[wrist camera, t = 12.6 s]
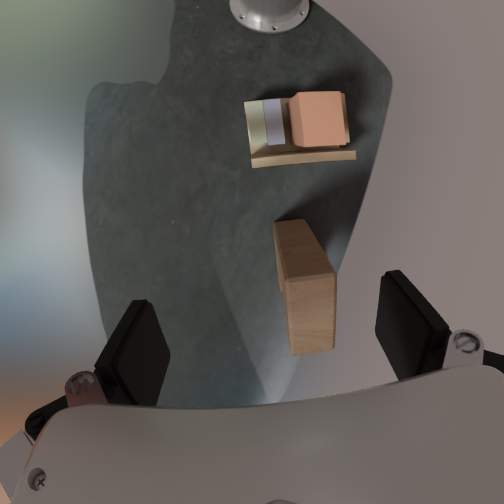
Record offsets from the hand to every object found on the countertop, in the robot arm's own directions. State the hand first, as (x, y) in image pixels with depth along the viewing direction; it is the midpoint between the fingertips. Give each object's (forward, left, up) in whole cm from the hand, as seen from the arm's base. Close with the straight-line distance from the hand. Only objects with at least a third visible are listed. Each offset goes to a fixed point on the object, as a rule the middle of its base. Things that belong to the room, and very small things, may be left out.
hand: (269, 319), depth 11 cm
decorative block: (+13, +5, -36) cm, 39 cm away
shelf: (-8, +7, -36) cm, 38 cm away
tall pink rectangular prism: (-8, +9, -36) cm, 38 cm away
